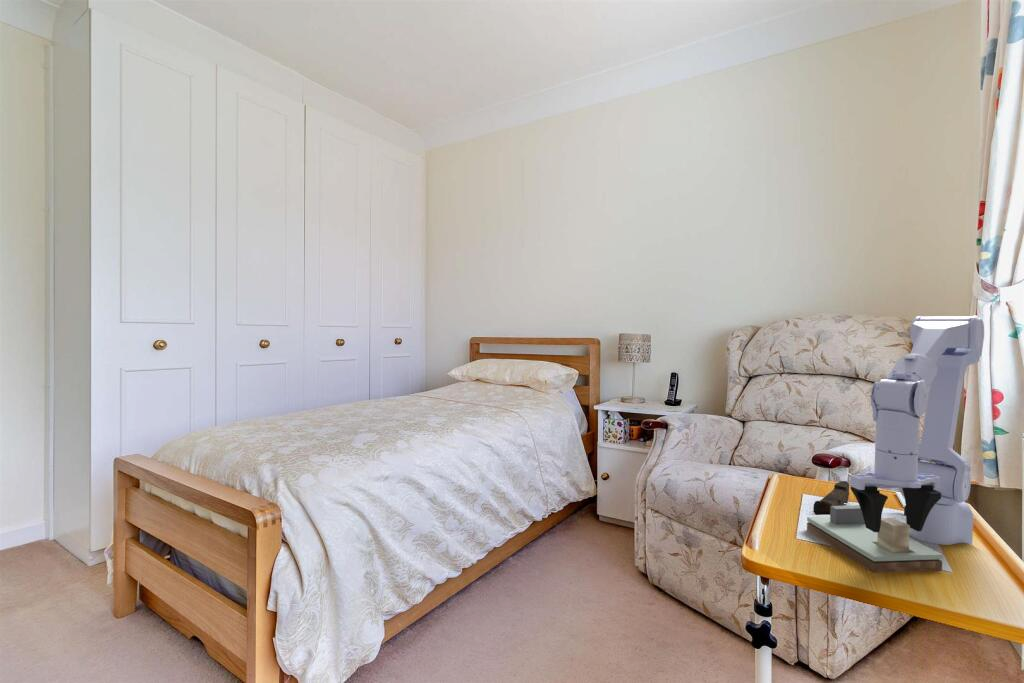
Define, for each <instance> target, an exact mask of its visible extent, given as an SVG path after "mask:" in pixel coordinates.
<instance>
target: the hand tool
mask: <svg viewBox="0 0 1024 683" xmlns="http://www.w3.org/2000/svg"><path fill="white" fill-rule="evenodd" d="M849 497H850V483H849V481H847V480H841V481H838V482H836V483H835V484H834V486H833V489H832V490H831V491H830V492H829V493H828V494H826V495H825V496H823V497H822V499H820V500H815V502H814V503H813V511H812V512H813V514H814V515H815V516H823V515H824V516H826V515H827V516H828V515H829V516H830V508H831V506H844V505H845V504H844V503H847V504H848V502H849Z"/></svg>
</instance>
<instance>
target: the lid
mask: <svg viewBox="0 0 1024 683" xmlns="http://www.w3.org/2000/svg"><path fill="white" fill-rule="evenodd" d="M806 521H807V522H810V523H811V524H813V525H815V526H816V527H818V528H820V529H821V530H823V531H825V532H826V533H828V534H830V535H831V536H833V537H834V538H836V539H838V540H839V541H841V542H843V543H844V544H846V545H848V546H849V547H851V548H853V549H854V550H856V551H858V552H859V553H861V554H863V555H864V556H866V557H867V558H869V559H871V560H872V561H903V560H933V559H940V560H943V554H942V553H941V552H938V551H937V550H935V549H933V548H930V547H928V546H927V545H925V544H923V543H920V542H919V541H916V540H914V539H912V538H911V537H909V553H890V552H889V551H887V550H885V549H883V548H881V547H880V546H878V545H877V537H878V532H873V531H871V530H869V529H867V528H866V526H865V522H864V518H863V514H862V511H861V508H860V505H859V504H857V505H842V506H831V508H830V515H829V516H828V515H827V516H826V515H824V516H807V518H806Z"/></svg>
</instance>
